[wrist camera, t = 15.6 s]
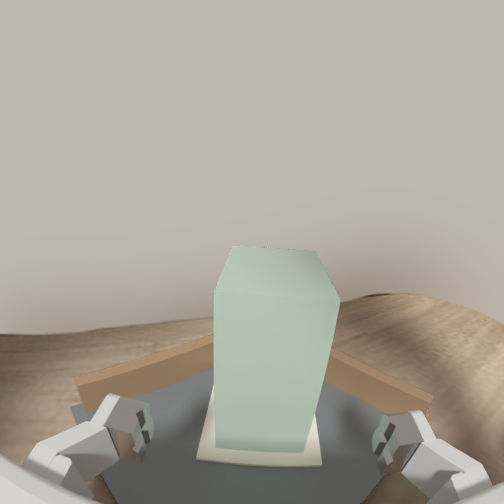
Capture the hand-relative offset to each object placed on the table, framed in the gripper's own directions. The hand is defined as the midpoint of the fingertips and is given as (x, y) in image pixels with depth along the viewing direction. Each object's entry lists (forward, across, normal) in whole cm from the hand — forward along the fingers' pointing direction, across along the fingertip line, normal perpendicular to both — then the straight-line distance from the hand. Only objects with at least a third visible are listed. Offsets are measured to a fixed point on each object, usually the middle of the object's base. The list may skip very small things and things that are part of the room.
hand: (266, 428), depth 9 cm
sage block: (+7, 0, +7) cm, 10 cm away
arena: (+5, 0, +8) cm, 9 cm away
